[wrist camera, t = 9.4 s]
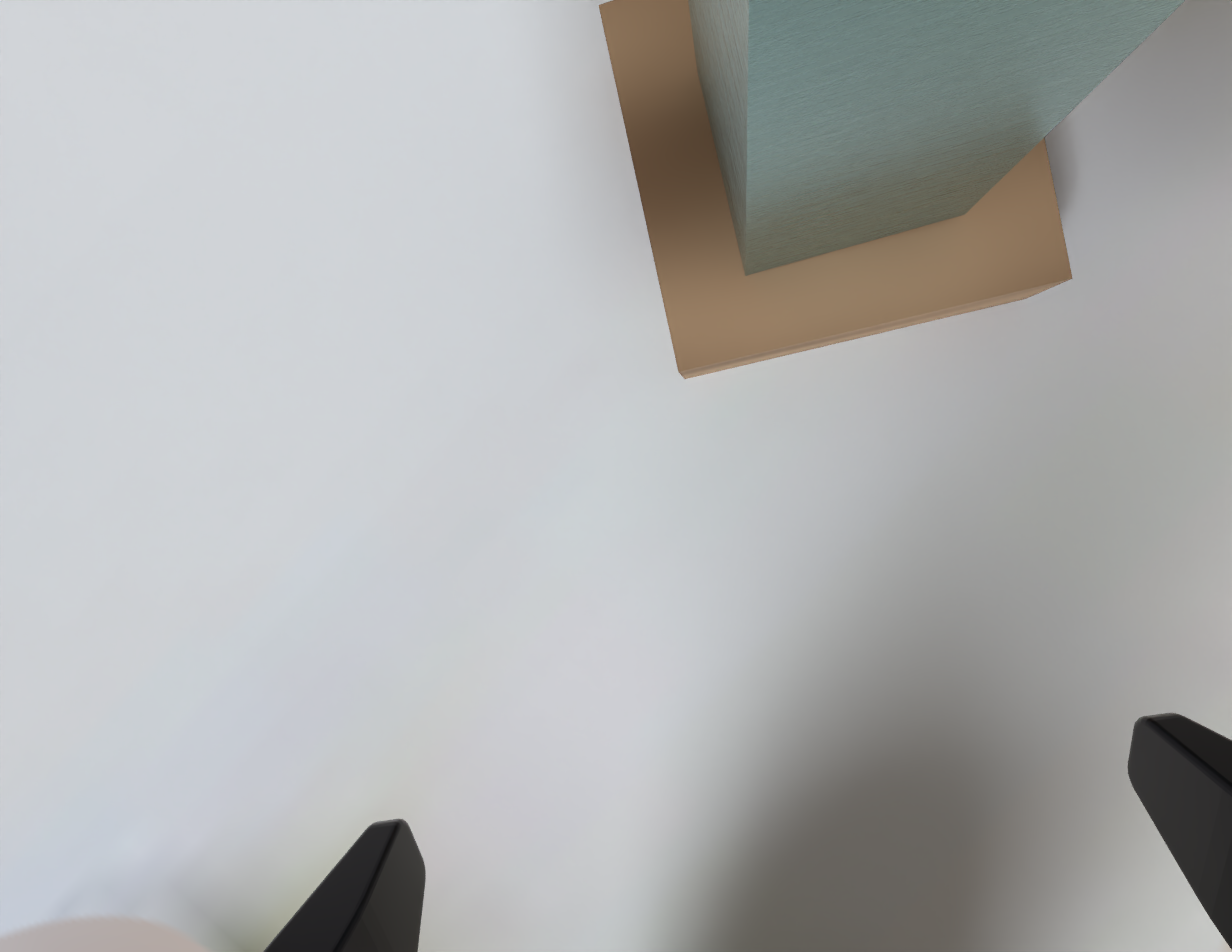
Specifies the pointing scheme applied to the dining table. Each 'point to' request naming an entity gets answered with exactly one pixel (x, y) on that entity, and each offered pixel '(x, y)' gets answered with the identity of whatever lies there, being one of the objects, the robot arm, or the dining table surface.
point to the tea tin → (889, 106)
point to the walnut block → (818, 286)
